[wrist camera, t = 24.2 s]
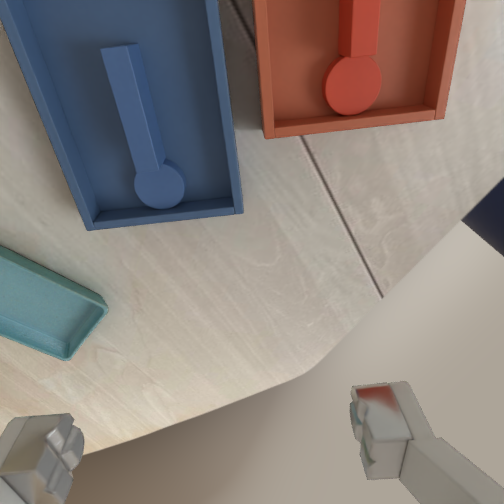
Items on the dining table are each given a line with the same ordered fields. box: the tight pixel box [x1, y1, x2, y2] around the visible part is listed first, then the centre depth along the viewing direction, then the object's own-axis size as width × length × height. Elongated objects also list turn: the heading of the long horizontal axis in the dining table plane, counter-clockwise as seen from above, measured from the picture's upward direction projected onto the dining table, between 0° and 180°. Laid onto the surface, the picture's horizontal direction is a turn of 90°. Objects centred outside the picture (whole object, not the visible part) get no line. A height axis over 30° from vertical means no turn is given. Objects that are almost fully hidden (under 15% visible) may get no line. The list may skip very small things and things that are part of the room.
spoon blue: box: [100, 43, 186, 209], centre depth 24 cm, size 11×4×3 cm, turn 6°
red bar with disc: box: [322, 0, 381, 116], centre depth 21 cm, size 11×4×3 cm, turn 6°
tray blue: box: [0, 0, 244, 231], centre depth 24 cm, size 12×16×2 cm
